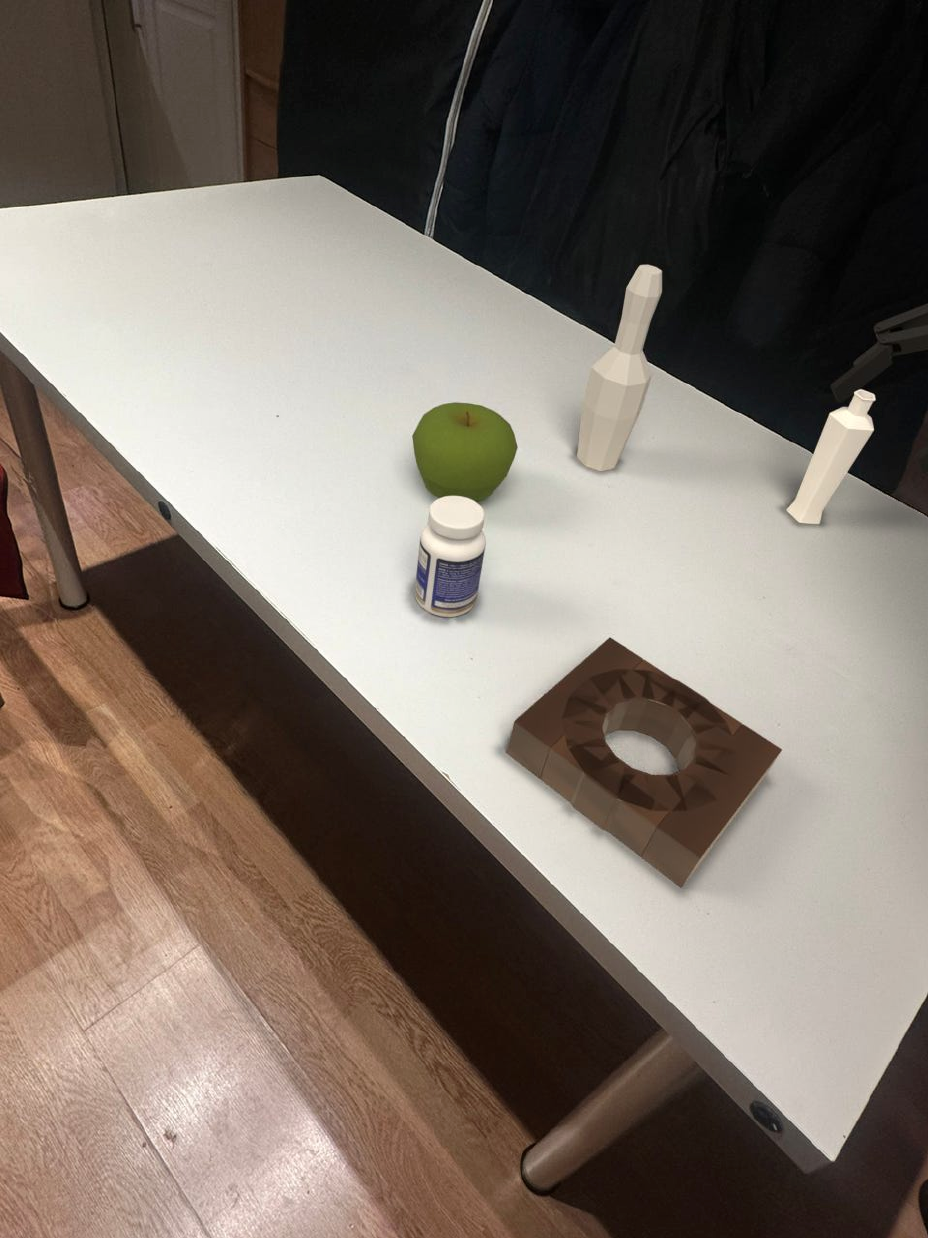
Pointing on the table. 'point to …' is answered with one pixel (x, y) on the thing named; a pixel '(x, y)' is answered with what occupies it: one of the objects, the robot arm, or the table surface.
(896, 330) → the robot arm
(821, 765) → the table surface
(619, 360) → the faceted bottle
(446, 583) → the pill bottle
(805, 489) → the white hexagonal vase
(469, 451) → the apple
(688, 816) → the hole plate
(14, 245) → the table surface
